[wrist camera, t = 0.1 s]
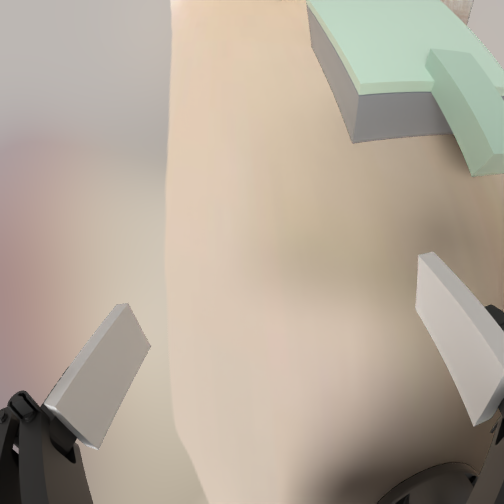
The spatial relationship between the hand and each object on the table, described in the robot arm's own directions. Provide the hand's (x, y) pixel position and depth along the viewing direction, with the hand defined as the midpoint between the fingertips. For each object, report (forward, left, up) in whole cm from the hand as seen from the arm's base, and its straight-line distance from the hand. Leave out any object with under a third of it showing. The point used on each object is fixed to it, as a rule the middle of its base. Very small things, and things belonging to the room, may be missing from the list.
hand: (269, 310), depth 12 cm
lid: (+21, -19, -8) cm, 29 cm away
